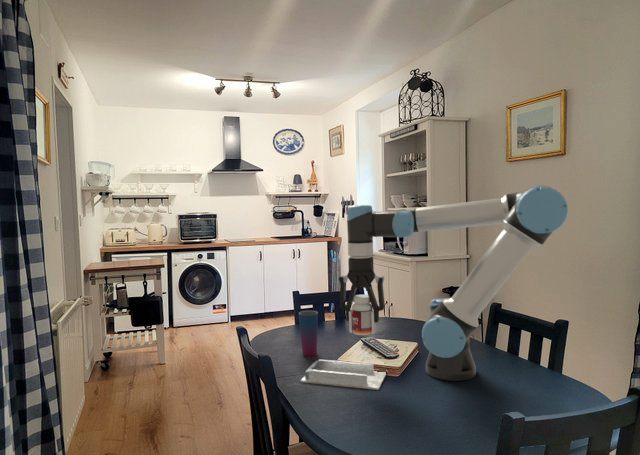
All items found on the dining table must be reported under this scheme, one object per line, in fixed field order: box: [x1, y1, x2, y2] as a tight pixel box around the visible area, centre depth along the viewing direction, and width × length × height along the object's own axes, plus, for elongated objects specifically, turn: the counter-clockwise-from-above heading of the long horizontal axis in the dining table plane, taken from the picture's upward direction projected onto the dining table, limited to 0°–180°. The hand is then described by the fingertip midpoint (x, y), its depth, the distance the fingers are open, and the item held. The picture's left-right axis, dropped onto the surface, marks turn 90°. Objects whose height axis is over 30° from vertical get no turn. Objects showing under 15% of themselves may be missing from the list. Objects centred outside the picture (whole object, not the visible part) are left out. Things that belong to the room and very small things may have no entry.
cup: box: [298, 310, 319, 357], centre depth 166 cm, size 7×7×15 cm
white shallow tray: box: [300, 358, 387, 391], centre depth 144 cm, size 24×14×3 cm, turn 72°
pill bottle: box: [351, 294, 373, 336], centre depth 141 cm, size 6×6×11 cm
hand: (362, 332), depth 141 cm, fingers closed on pill bottle, 6 cm apart
